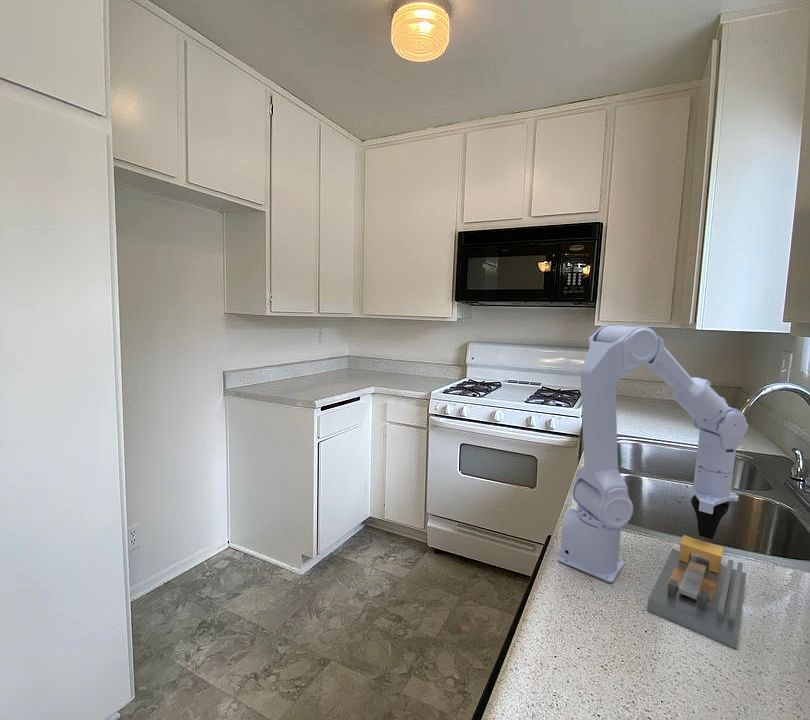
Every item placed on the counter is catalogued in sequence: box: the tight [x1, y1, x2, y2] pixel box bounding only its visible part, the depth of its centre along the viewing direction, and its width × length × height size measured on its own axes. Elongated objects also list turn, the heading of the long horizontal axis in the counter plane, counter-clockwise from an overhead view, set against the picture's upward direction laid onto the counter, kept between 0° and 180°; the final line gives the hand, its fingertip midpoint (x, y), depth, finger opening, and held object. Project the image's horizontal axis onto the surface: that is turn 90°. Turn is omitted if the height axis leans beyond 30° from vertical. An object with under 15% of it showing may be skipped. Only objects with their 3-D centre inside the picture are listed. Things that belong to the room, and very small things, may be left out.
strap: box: [678, 560, 706, 600], centre depth 70 cm, size 2×11×1 cm, turn 138°
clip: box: [679, 534, 724, 573], centre depth 76 cm, size 6×4×3 cm, turn 48°
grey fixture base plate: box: [647, 548, 747, 650], centre depth 70 cm, size 11×20×4 cm, turn 138°
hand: (706, 536), depth 81 cm, fingers closed
